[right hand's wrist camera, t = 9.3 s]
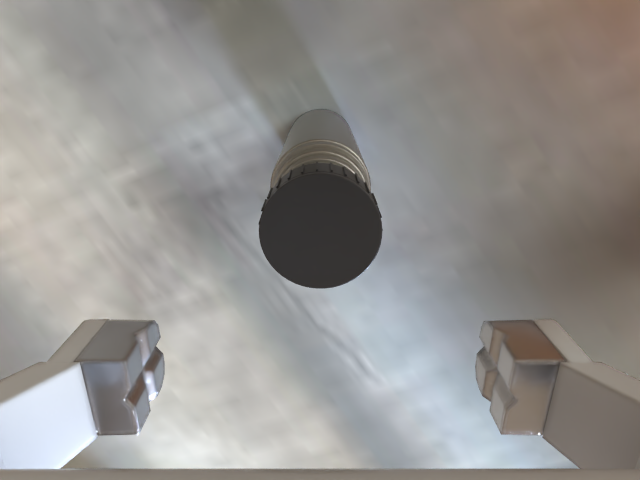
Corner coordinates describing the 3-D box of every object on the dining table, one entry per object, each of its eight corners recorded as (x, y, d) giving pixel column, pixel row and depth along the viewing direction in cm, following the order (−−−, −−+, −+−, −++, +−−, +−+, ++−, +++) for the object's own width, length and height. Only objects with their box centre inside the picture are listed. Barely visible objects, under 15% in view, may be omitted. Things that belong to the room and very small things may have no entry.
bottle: (276, 151, 35) (231, 247, 17) (311, 95, 33) (300, 138, 16) (329, 186, 36) (337, 309, 18) (365, 133, 34) (413, 212, 17)
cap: (242, 233, 19) (234, 250, 17) (302, 137, 17) (301, 146, 15) (335, 288, 20) (337, 310, 18) (401, 202, 18) (409, 216, 16)
